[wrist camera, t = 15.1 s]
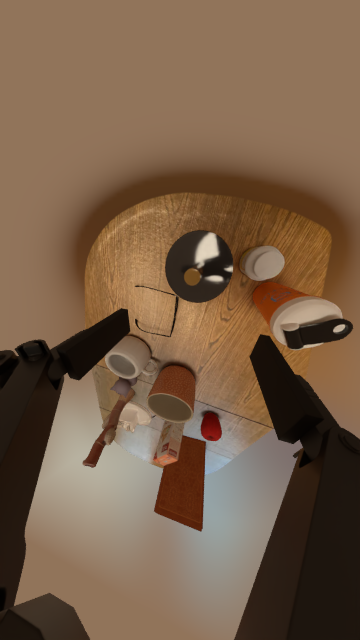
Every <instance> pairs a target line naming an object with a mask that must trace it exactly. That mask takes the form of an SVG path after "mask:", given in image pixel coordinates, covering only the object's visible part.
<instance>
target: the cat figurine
mask: <svg viewBox="0 0 360 640" xmlns="http://www.w3.org/2000/svg"><path fill="white" fill-rule="evenodd" d="M136 382H137V377H135V378H132V379H126V378H122V377H120V376H119V380H117V381H116V383H115V385H114V386H113V387H112V388H111V389H110V390H114V391H116V392H117V393H118V394H120V395H123V396H124V397H125V398H126V397H127V394H128V392H129V391H130V389H131V386H133V385H135V384H136Z"/></svg>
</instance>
